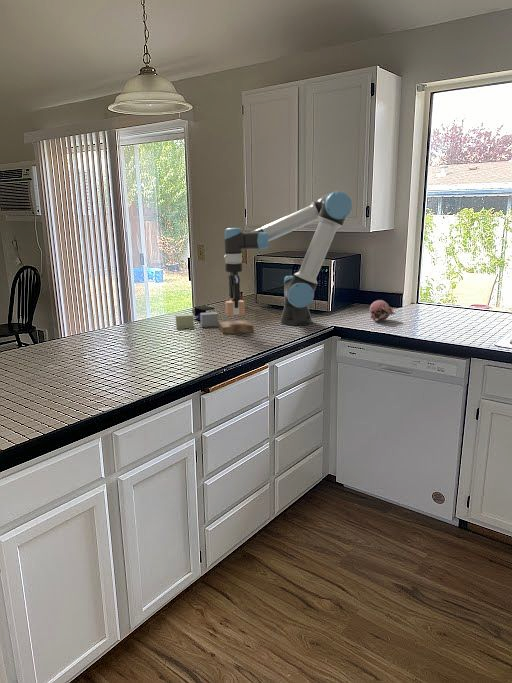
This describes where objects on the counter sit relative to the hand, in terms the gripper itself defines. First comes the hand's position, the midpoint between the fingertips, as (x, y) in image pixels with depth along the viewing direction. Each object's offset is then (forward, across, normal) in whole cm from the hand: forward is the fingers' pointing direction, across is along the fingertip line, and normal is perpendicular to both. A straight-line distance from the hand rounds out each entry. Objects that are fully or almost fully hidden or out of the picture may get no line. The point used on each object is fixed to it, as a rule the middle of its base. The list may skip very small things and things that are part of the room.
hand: (234, 313), depth 242 cm
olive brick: (+8, -14, -22) cm, 27 cm away
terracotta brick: (0, 0, 0) cm, 0 cm away
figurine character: (+8, -27, -11) cm, 30 cm away
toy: (+8, +5, +72) cm, 73 cm away
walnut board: (+8, 0, 0) cm, 8 cm away
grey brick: (+8, -14, -10) cm, 19 cm away
